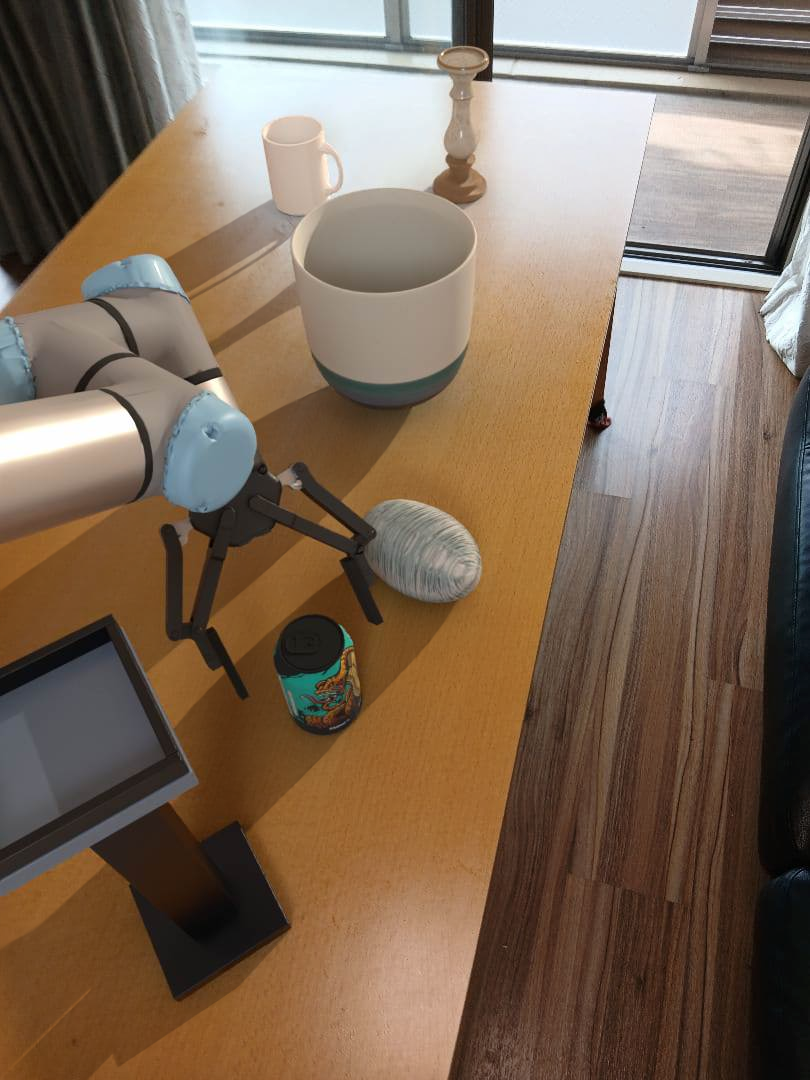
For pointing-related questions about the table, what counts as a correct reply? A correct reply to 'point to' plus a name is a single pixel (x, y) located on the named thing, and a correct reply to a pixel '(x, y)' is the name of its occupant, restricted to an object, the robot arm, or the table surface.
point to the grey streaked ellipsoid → (422, 551)
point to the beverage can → (318, 674)
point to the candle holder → (461, 127)
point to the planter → (386, 293)
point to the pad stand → (122, 804)
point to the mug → (298, 163)
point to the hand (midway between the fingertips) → (311, 658)
